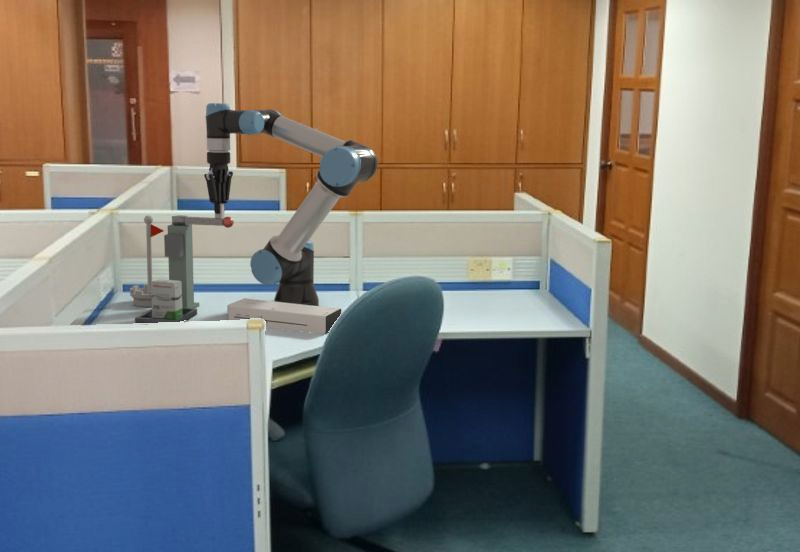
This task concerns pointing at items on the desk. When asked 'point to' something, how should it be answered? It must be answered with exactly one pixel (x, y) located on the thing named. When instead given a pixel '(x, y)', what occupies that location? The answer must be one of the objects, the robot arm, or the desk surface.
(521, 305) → the desk surface
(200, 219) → the lever
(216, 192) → the robot arm
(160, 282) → the ink box
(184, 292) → the column
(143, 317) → the tray
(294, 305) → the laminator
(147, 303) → the flag stand
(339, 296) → the desk surface
